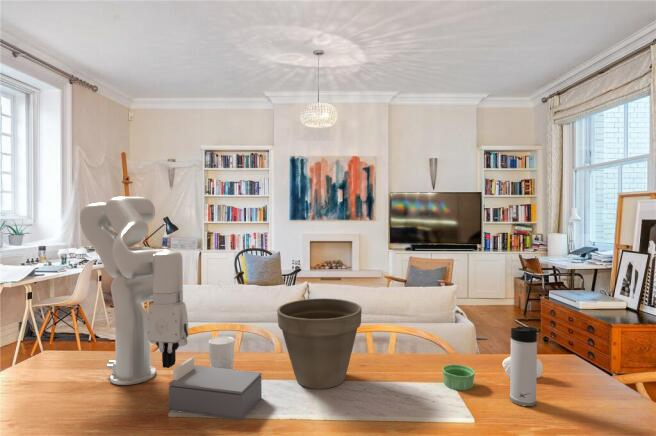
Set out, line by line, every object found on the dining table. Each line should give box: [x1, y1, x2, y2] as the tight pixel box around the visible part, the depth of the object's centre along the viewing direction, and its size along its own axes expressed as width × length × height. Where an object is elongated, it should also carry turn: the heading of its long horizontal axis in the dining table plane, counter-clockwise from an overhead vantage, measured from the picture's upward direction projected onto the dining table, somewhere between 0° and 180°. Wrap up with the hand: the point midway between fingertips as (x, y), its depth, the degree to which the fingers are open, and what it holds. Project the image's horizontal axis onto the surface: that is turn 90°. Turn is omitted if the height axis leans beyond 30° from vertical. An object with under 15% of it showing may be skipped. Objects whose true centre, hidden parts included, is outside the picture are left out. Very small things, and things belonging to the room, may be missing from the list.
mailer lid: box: [168, 357, 262, 394], centre depth 108 cm, size 20×12×4 cm, turn 76°
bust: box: [502, 344, 544, 379], centre depth 127 cm, size 12×8×11 cm
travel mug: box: [509, 326, 538, 407], centre depth 109 cm, size 6×7×20 cm
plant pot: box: [276, 297, 363, 390], centre depth 124 cm, size 25×25×22 cm
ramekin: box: [441, 363, 476, 392], centre depth 120 cm, size 9×9×4 cm
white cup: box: [208, 335, 236, 370], centre depth 129 cm, size 8×8×10 cm
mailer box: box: [168, 375, 263, 421], centre depth 108 cm, size 20×12×6 cm, turn 76°
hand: (168, 365), depth 111 cm, fingers closed
